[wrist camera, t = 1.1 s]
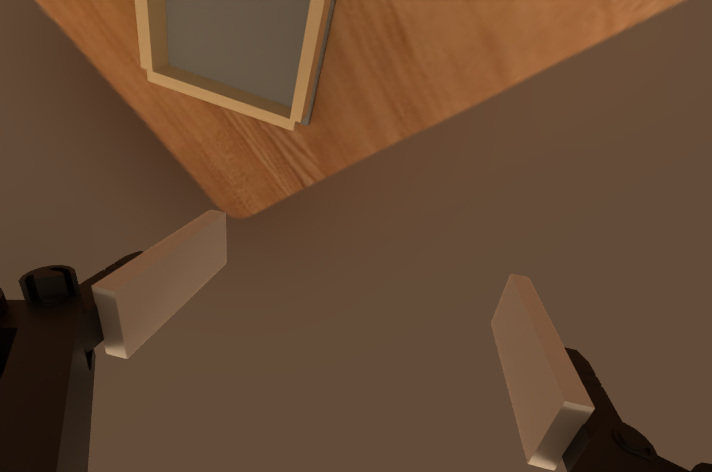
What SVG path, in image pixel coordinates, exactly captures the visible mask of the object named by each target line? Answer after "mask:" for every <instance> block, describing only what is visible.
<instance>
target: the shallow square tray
mask: <svg viewBox="0 0 712 472" xmlns="http://www.w3.org/2000/svg"><path fill="white" fill-rule="evenodd" d="M335 3H336V0H135V9H136V19H137V29H138V39H139V50H140V60H141V68H144V69H147V76H148V81H149V82H152V83H155V84H158V85H161V86H164V87H167V88H170V89H173V90H176V91H178V92H181V93H184V94H187V95H190V96H193V97H196V98H199V99H202V100H204V101H207V102H210V103H213V104H216V105H219V106H222V107H225V108H228V109H231V110H233V111H236V112H239V113H242V114H245V115H248V116H251V117H254V118H257V119H260V120H262V121H265V122H268V123H271V124H274V125H277V126H280V127H283V128H286V129H289V130H291V131H294V129H295V128H296V127H297V125H298V124H299V123H300V124H303V125H306V126H308V125H309V123H310V119H311V114H312V110H313V105H314V101H315V96H316V91H317V87H318V82H319V77H320V73H321V68H322V63H323V59H324V54H325V49H326V45H327V40H328V35H329V31H330V26H331V21H332V17H333V12H334V7H335Z"/></svg>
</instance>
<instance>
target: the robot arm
mask: <svg viewBox="0 0 712 472" xmlns="http://www.w3.org/2000/svg"><path fill="white" fill-rule="evenodd" d="M226 263H227V261H226V213H224V212H220V211H215V210H209V211H207V212H206V213H204V214H203V215H201V216H200V217H198V218H197V219H195V220H193V221H192V222H190V223H189V224H187V225H185V226H184V227H182V228H181V229H179V230H178V231H176V232H175V233H173V234H172V235H170V236H168V237H167V238H165V239H164V240H162V241H161V242H159V243H157V244H156V245H154V246H153V247H151V248H150V249H148V250H147V251H145V252H143V251H139V252H136V253H133V254H130V255H127V256H125V257H123V258H122V259H120V260H118V261H117V262H115V264H112V265H110V266H109V267H107V268H106V269H105V270H102V271H100V272H99V273H97V274H96V275H94V276H92V277H91V278H89V279H87V280H86V281H84V282H83V283H81V284H79V285H78V281H77V277H76V273H75V269H73V268H71V267H69V266H63V265H52V266H46V267H41V268H38V269H35V270H32V271H30V272H28V273H27V274H25V275H23V276H22V277H21V278H20V280H19V283H20V286H21V289H22V292H23V295H24V298H25V300H6V298H5V296H4V293H3V291H2V289H1V288H0V472H87V471H88V457H89V443H90V429H91V414H92V400H93V386H94V371H95V352H94V348H95V347H96V346H97V345H98V344H99V343H101V342H102V341H104V345H105V349H106V354H110V355H114V356H118V357H121V358H125V359H128V358H129V357H130V356H131V355H132V354H133V353H134V352H135V351H136V350H137V349H138V348H139V347H140V346H141V345H142V344H143V343H144V342H145V341H146V340H147V339H148V338H149V337H150V336H151V335H152V334H153V333H155V332H156V331H157V330H158V329H159V328H160V327H161V326H162V325H163V324H164V323H165V322H166V321H167V320H168V319H169V318H170V317H171V316H172V315H173V314H174V313H175V312H176V311H177V310H178V309H179V308H181V307H182V306H183V305H184V304H185V303H186V302H187V301H188V300H189V299H190V298H191V297H192V296H193V295H194V294H195V293H196V292H197V291H198V290H199V289H200V288H201V287H202V286H203V285H204V284H205V283H206V282H207V281H209V279H211V278H212V277H213V276H214V275H215V274H216V273H217V272H218V271H219V270H220V269H221V268H222V267H223V266H224V265H225V264H226ZM491 326H492V330H493V334H494V337H495V341H496V345H497V348H498V353H499V356H500V360H501V364H502V368H503V371H504V375H505V379H506V382H507V386H508V390H509V394H510V398H511V402H512V405H513V409H514V413H515V417H516V421H517V425H518V428H519V432H520V436H521V440H522V444H523V447H524V451H525V455H526V459H527V462H528V464H531V465H534V466H538V467H543V468H546V469H550V470H555V468H556V467H557V465H558V464H559V462H560V461H561V459H562V458H563V461H564V464H565V467H566V469H567V472H712V464H708V463H700V464H697V465H696V466H695V467H694V468H693V469H692V470H691V471H688V470H686V469H684V468H682V467H680V466H678V465H676V464H674V463H672V462H670V461H668V460H666V459H664V458H662V457H660V456H658V455H657V453H656V451H655V449H654V447H653V445H652V444H651V443H650V442H649V441H648V440H647V439H646V437H644V436H643V435H642V434H641V433H640V432H638V431H637V430H636V429H634V428H633V427H631V426H629V425H627V424H626V423H623V422H622V420H621V418H620V417H619V415H618V413H617V411H616V410H615V408H614V406H613V404H612V403H611V401H610V399H609V397H608V395H607V394H606V392H605V390H604V389H603V387H601V383H600V381H599V380H598V378H597V377H596V376H595V372H594V371H593V369H592V367H591V365H590V364H589V362H588V361H587V360H586V359H585V358H584V357H583V356H582V355H581V354H580V353H579V352H578V351H577V350H574V349H570V348H565V347H564V346H563V344H562V342H561V340H560V338H559V336H558V334H557V332H556V330H555V328H554V326H553V324H552V322H551V320H550V318H549V317H548V314H547V313H546V311H545V309H544V307H543V305H542V303H541V301H540V299H539V297H538V295H537V293H536V291H535V289H534V287H533V285H532V283H531V281H530V279H529V277H524V276H520V275H515V274H510V277H509V279H508V282H507V284H506V286H505V289H504V292H503V294H502V296H501V299H500V301H499V304H498V306H497V309H496V311H495V314H494V316H493V319H492V321H491Z"/></svg>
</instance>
